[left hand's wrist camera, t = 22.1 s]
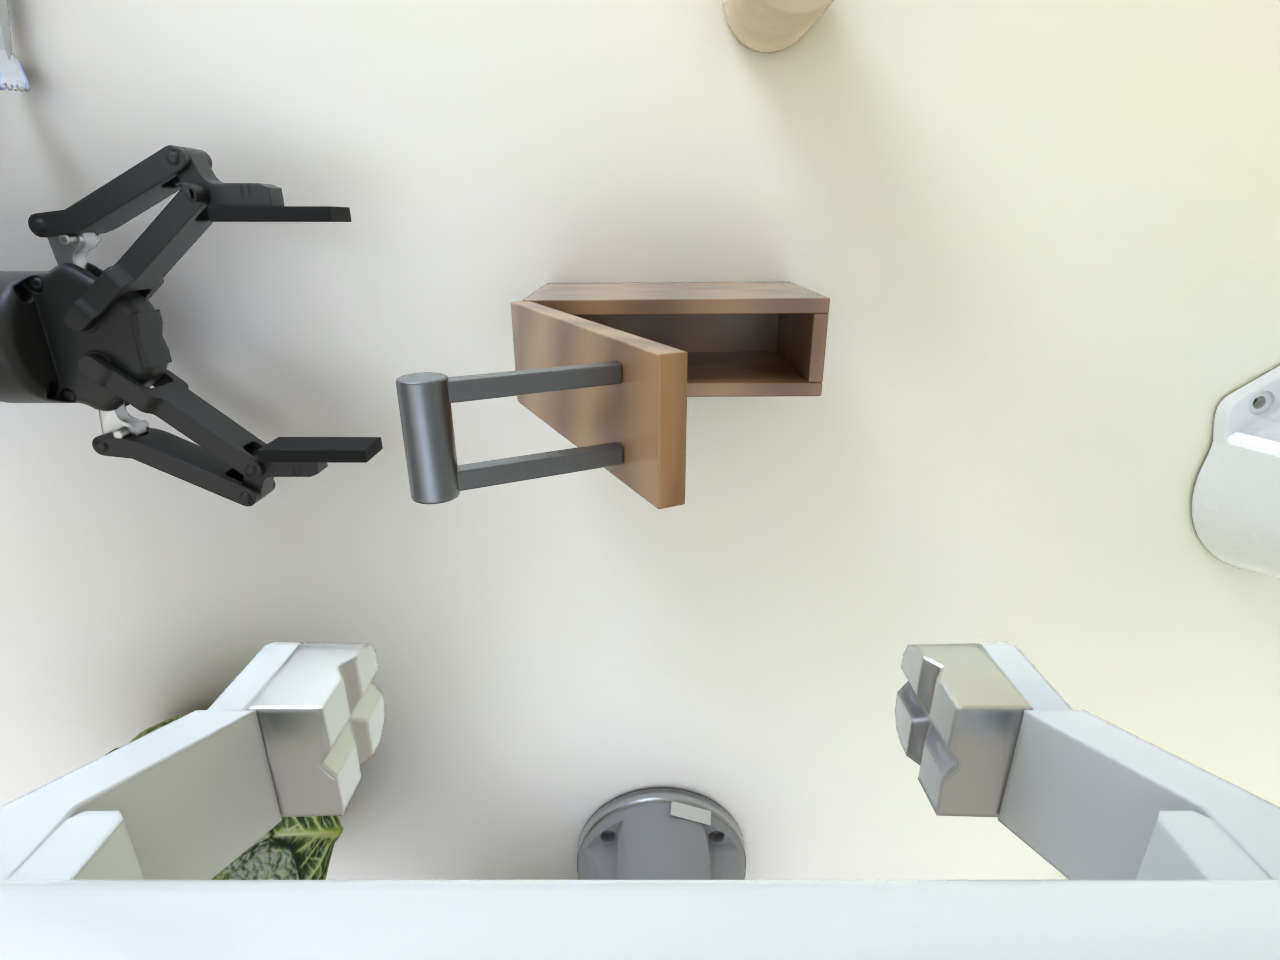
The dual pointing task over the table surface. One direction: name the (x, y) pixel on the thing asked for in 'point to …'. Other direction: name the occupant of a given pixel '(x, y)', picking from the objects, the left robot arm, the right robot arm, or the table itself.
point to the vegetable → (283, 846)
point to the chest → (715, 329)
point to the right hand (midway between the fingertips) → (359, 338)
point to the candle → (772, 21)
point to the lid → (560, 410)
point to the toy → (9, 57)
